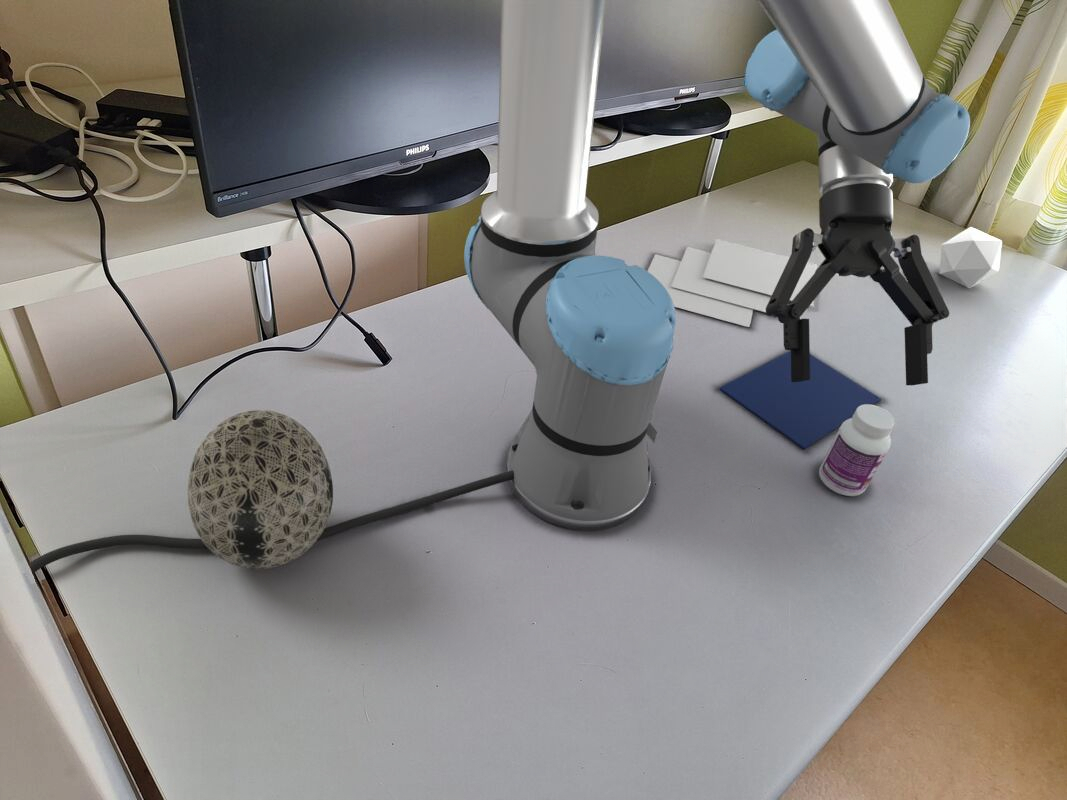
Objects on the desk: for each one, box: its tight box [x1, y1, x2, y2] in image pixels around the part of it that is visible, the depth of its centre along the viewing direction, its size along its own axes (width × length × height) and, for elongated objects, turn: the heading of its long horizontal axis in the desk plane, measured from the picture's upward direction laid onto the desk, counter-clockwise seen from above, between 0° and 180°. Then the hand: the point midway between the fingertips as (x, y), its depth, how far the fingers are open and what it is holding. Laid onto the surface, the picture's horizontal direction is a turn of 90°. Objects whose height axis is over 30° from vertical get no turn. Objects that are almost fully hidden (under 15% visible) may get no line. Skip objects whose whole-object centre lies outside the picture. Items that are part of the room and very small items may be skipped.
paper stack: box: [646, 238, 819, 328], centre depth 117 cm, size 23×25×1 cm
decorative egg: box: [187, 409, 334, 570], centre depth 65 cm, size 12×12×15 cm
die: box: [939, 226, 1003, 289], centre depth 124 cm, size 8×9×10 cm
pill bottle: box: [818, 404, 896, 497], centre depth 82 cm, size 5×5×10 cm
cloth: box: [718, 350, 882, 450], centre depth 97 cm, size 17×13×1 cm
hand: (859, 383), depth 83 cm, fingers open, 13 cm apart
